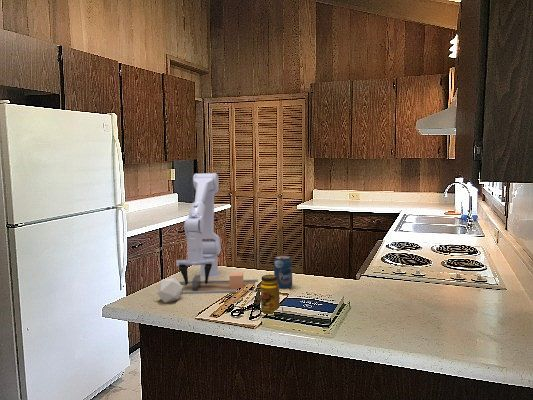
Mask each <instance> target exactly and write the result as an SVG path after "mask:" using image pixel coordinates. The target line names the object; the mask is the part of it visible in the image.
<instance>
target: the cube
mask: <svg viewBox="0 0 533 400" xmlns="http://www.w3.org/2000/svg"><path fill="white" fill-rule="evenodd" d="M228 279H229V280H230V282H229V283H230V289H239V288H242V287H243V285H244V282H243V280H244V271H243V272H242V271H240V272H239V271H238V272H236V271H235V272H230V273H229V278H228Z"/></svg>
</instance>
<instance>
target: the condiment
mask: <svg viewBox="0 0 533 400" xmlns="http://www.w3.org/2000/svg"><path fill="white" fill-rule="evenodd" d="M280 300H281V299H280V289H279V284H278V277H277V276H276V275H274V274H264V275H262V276H261V283H260V310H261V311H262V312H263V313H264V314H273V313H274V311H275V310H277V309H278V308H279V307H280V306H281V305H280V302H281V301H280Z"/></svg>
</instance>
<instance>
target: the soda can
mask: <svg viewBox="0 0 533 400" xmlns="http://www.w3.org/2000/svg"><path fill="white" fill-rule="evenodd" d="M273 275H276V276H277V277H278V284H279V290H284V289H286V290H287V289H289V290H290V289H291V288H292V286H293V260H292V259H291V256H290V255H277V256H275V258H274V260H273Z"/></svg>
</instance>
